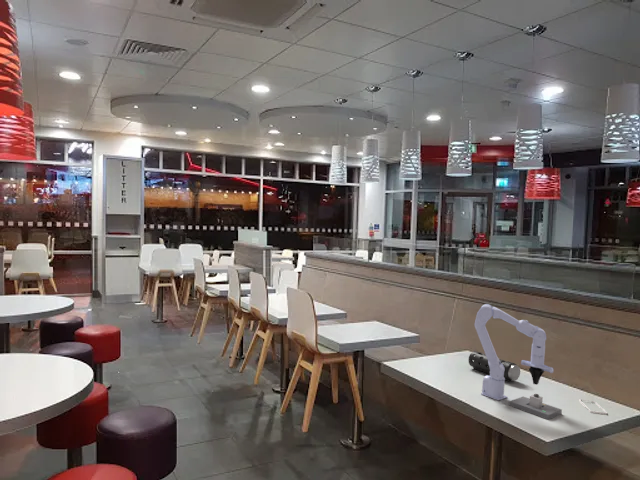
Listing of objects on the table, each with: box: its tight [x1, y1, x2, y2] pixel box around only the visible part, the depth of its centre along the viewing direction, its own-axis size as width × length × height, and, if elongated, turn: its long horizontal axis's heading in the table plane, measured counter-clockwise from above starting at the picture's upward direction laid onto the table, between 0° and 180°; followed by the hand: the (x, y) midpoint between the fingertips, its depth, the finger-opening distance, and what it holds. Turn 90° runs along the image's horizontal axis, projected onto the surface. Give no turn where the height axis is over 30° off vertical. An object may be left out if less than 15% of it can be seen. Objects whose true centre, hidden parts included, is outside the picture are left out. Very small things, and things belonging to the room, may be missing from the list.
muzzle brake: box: [468, 350, 521, 382], centre depth 263 cm, size 10×28×10 cm, turn 30°
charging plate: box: [508, 396, 563, 420], centre depth 215 cm, size 18×12×2 cm, turn 38°
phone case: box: [578, 399, 608, 415], centre depth 222 cm, size 7×1×15 cm
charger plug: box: [529, 393, 544, 409], centre depth 215 cm, size 4×4×7 cm
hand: (535, 383), depth 222 cm, fingers closed
